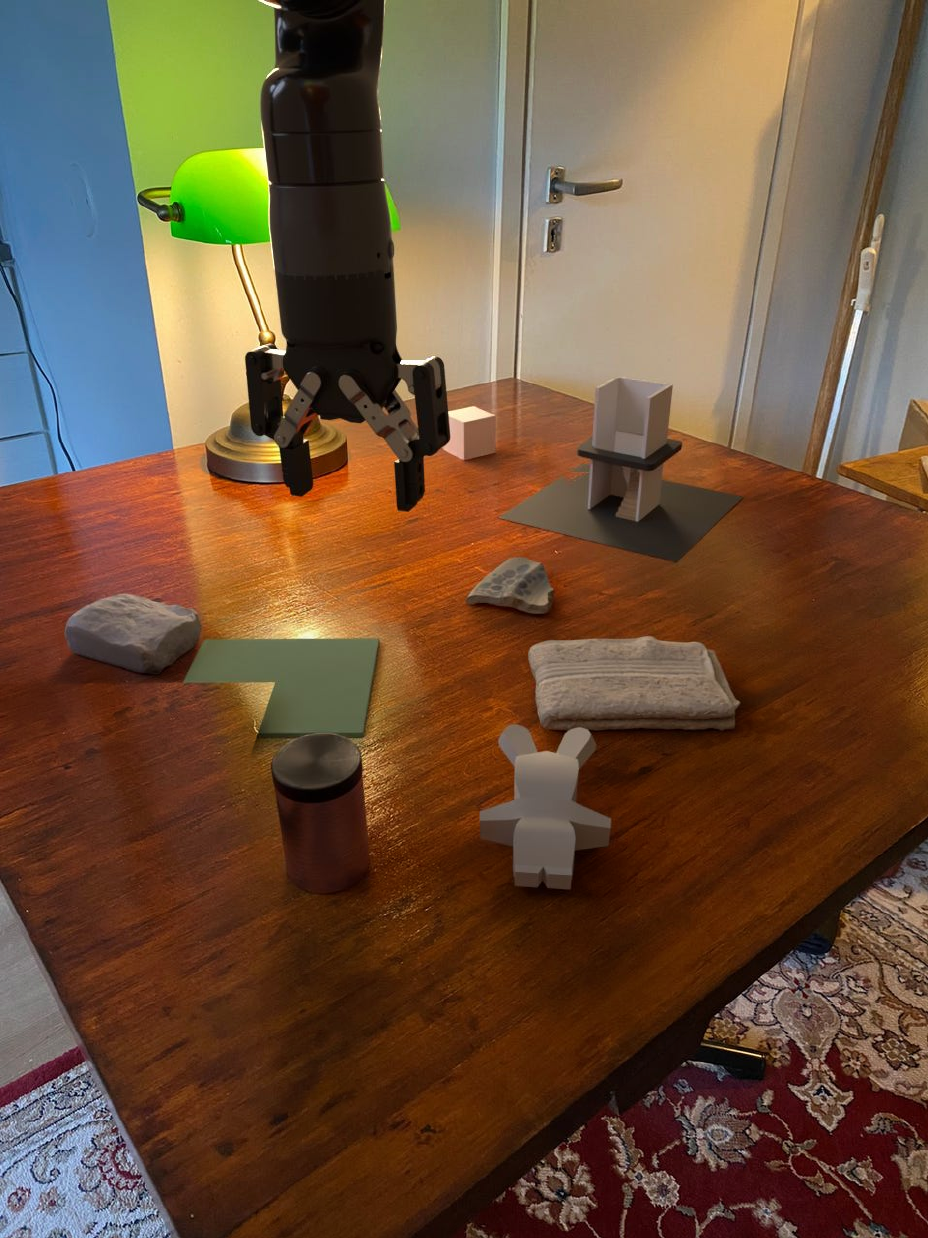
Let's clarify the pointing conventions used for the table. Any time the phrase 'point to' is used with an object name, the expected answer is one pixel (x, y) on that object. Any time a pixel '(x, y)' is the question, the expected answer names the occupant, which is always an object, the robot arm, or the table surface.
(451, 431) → the white cube
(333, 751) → the thermos cup
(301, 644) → the mat
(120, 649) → the stone block
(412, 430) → the robot arm
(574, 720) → the washcloth
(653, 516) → the box stand
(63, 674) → the table surface
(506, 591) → the ceramic fragment
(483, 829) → the bunny figurine
